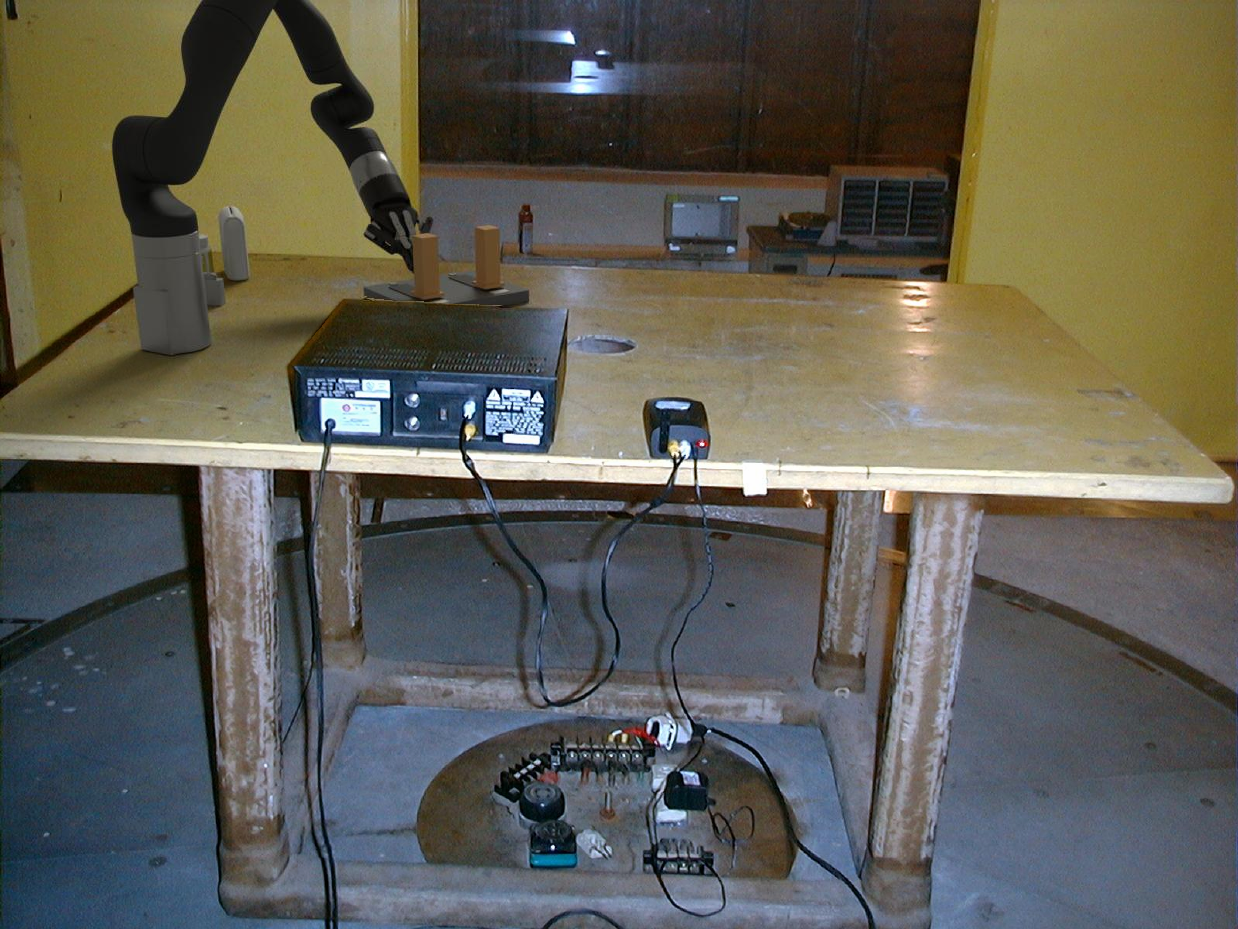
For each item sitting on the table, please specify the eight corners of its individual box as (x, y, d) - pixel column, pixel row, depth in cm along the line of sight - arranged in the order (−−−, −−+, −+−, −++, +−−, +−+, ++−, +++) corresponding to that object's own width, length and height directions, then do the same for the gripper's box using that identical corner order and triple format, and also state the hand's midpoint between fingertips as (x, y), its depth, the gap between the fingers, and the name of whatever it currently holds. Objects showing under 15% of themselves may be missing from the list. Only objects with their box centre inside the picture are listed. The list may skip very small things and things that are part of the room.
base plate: (417, 321, 197) (417, 308, 196) (364, 298, 210) (363, 285, 209) (529, 301, 210) (529, 288, 209) (472, 280, 223) (471, 268, 222)
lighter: (226, 303, 205) (221, 256, 202) (221, 305, 204) (216, 258, 201) (186, 301, 206) (180, 254, 203) (181, 303, 205) (175, 256, 202)
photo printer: (222, 269, 227) (215, 202, 223) (246, 267, 229) (239, 201, 224) (226, 282, 218) (219, 212, 214) (251, 280, 220) (244, 211, 215)
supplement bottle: (204, 278, 220) (199, 232, 217) (220, 282, 218) (215, 236, 215) (181, 283, 217) (175, 236, 214) (198, 287, 214) (192, 240, 211)
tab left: (423, 299, 200) (420, 239, 196) (410, 294, 203) (407, 234, 199) (444, 296, 202) (441, 236, 199) (431, 291, 205) (429, 232, 201)
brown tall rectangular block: (485, 289, 207) (483, 230, 203) (472, 284, 210) (470, 226, 206) (504, 286, 209) (503, 228, 206) (491, 281, 212) (490, 224, 208)
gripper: (350, 175, 200) (391, 263, 196) (420, 168, 208) (461, 253, 204) (337, 202, 206) (377, 288, 202) (406, 195, 213) (445, 277, 209)
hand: (419, 270), depth 203 cm, fingers closed
